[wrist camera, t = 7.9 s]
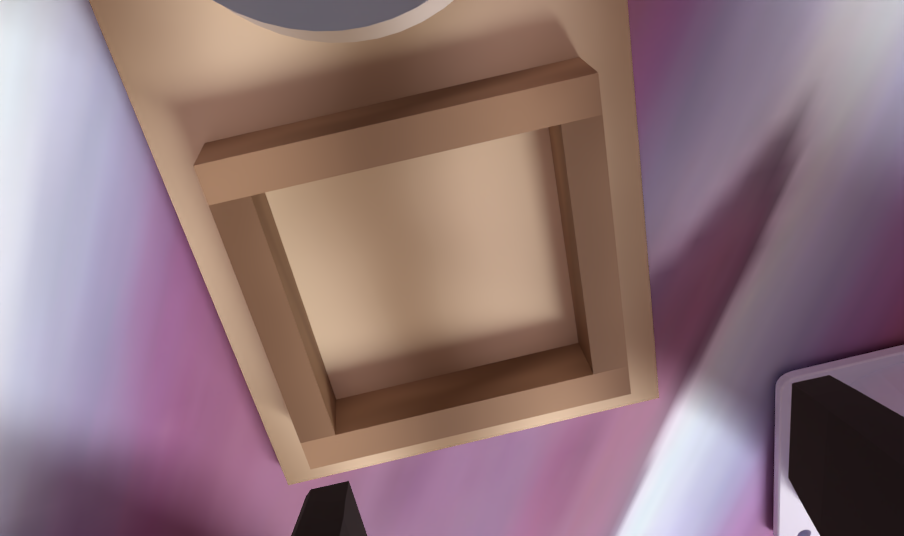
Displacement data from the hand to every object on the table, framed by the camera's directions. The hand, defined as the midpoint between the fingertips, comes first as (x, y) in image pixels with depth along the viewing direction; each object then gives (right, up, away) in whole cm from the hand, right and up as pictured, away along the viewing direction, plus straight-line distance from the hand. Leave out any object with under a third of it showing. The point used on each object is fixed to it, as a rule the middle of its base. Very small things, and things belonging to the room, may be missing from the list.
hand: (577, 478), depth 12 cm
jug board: (-4, +8, +7) cm, 11 cm away
